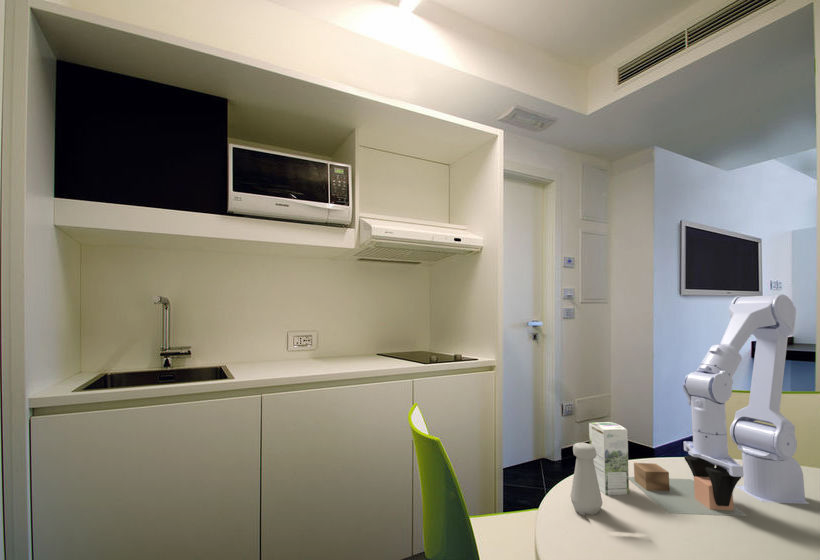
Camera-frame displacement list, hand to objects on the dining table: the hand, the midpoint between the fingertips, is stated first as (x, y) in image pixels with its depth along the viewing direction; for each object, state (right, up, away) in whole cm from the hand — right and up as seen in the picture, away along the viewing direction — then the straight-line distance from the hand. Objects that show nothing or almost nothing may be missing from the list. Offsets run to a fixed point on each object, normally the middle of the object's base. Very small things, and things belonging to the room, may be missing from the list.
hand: (713, 499), depth 80 cm
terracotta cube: (0, -1, 0) cm, 1 cm away
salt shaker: (-27, -1, -2) cm, 27 cm away
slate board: (-4, -2, +4) cm, 6 cm away
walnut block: (-7, -2, +8) cm, 11 cm away
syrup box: (-18, -2, +7) cm, 19 cm away
